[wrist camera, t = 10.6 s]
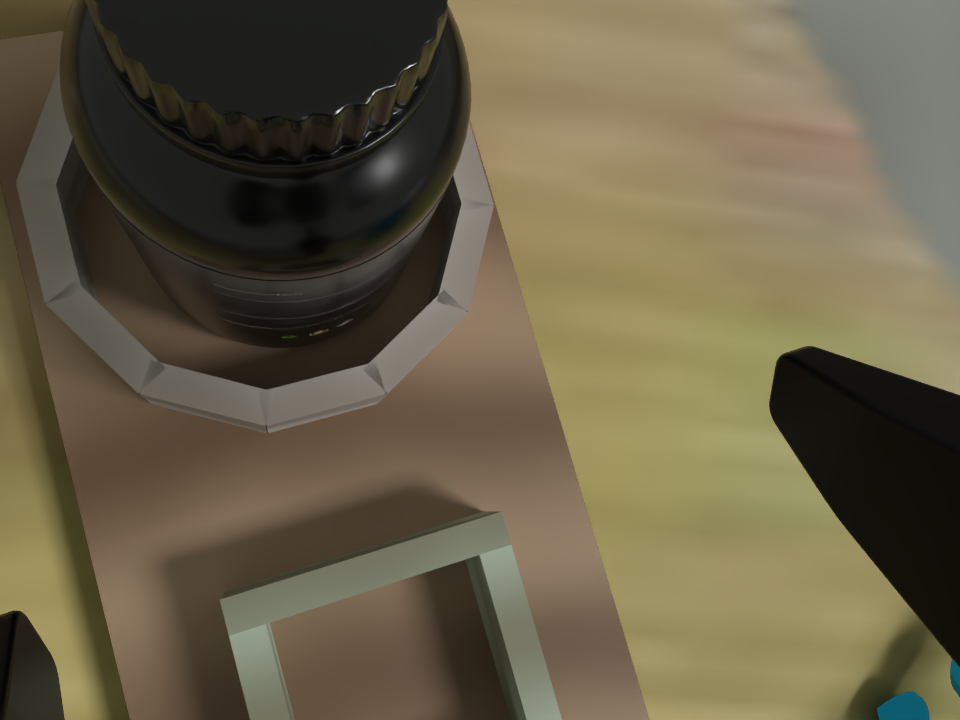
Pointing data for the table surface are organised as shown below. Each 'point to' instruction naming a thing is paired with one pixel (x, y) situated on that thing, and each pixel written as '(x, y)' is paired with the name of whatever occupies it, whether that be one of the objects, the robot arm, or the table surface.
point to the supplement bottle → (269, 148)
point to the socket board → (313, 472)
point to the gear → (913, 702)
